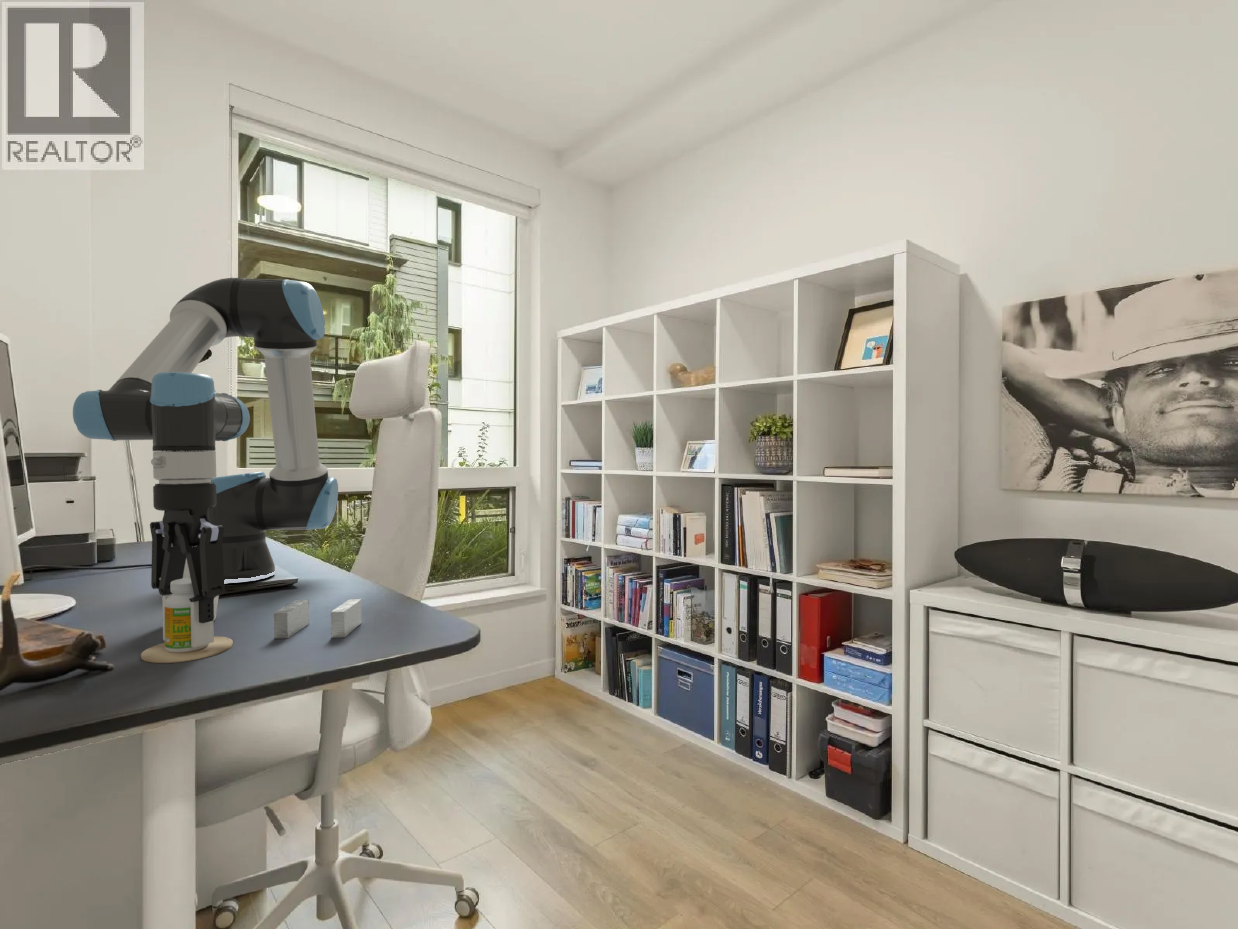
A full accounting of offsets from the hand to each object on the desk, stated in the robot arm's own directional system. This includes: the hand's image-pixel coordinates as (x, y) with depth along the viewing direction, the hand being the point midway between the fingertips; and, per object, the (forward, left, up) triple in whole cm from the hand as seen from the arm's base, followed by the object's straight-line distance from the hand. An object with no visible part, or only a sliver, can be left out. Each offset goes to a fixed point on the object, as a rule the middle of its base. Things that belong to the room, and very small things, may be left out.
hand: (188, 640), depth 93 cm
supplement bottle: (0, 0, -1) cm, 1 cm away
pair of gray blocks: (-9, +15, -1) cm, 18 cm away
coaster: (0, 0, -1) cm, 1 cm away
